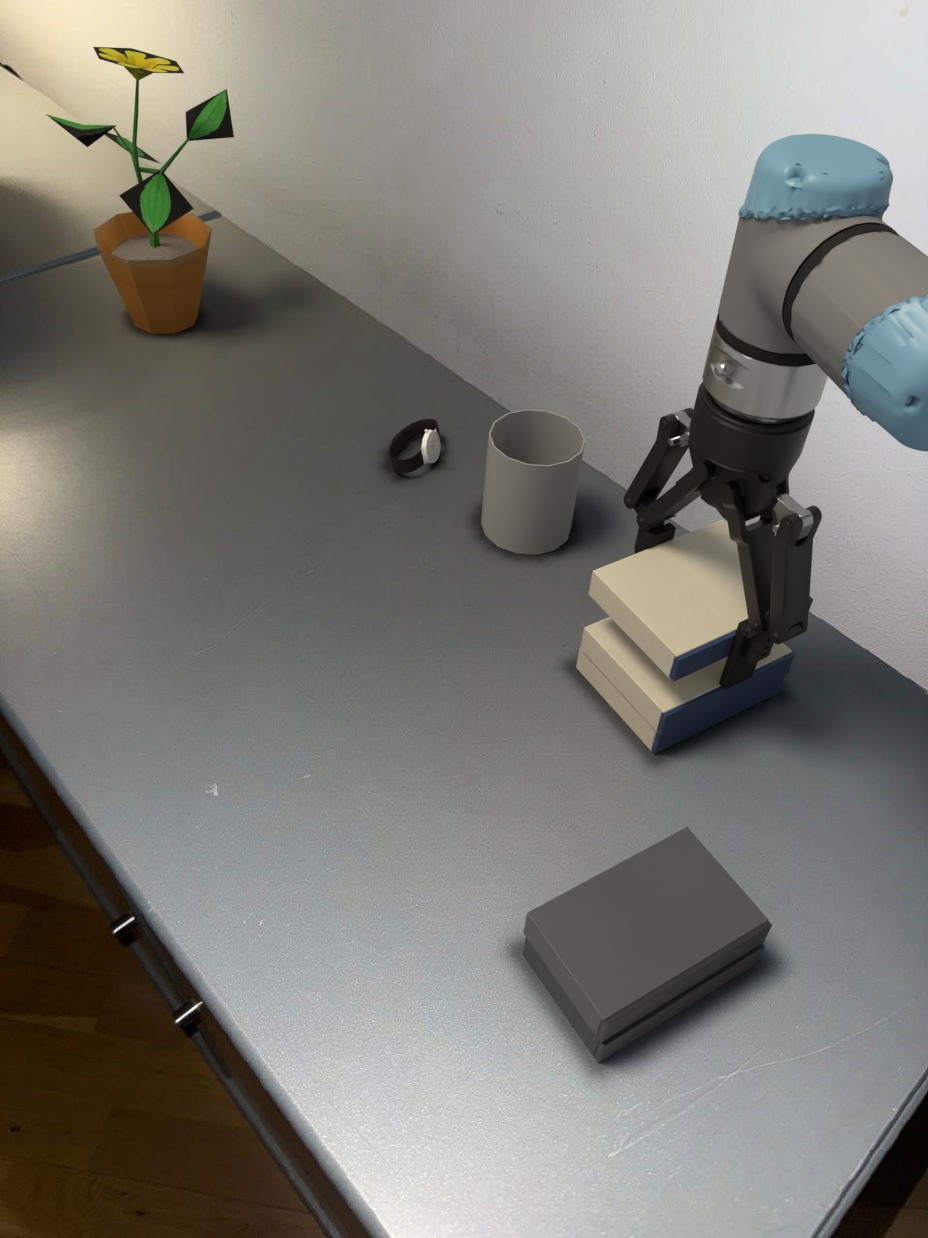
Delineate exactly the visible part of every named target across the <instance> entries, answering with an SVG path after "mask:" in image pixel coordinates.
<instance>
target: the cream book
mask: <svg viewBox="0 0 928 1238" xmlns="http://www.w3.org/2000/svg"><path fill="white" fill-rule="evenodd" d="M588 596H589V597H590V598H591V599H592V600H593V601H594V602H595V603H596V604H597V605H598V606H599V608H601V609H602V611H604V612H605V614H607V615H608V617H611V618H612V619H613V620H614V621H615V622H616V624H617V625H618V626H619V627H620V628H621V629H622V630H623V631H624V632H625V633H626V634H627V635H628V636H629V637H630V638H631V639H632V640H633V641H634V642H635V643H636V644H637V645H638V646H639V647H640V649H641V650H642V651H643V652H644V653H645V654H646V655H647V656H648V657H649V658H650V659H651V660H652V661H653V662H654V663H655V664H656V665H657V666H658V667H659V668H660V669H661V670H662V671H663V672H664V674H665V675H666V676H667V677H668V678H669V679H671V680H672V681H673V682H674V681H676V680H678V679H680V678H683V677H685V676H687V675H689V674H691V673H693V672H696V671H698V670H700V669H702V668H704V667H706V666H708V665H711V664H713V663H715V662H717V661H719V660H721V659H724V658H726V657H728V655H729V652H730V649H731V646H732V643H733V640H734V637H735V633H736V630H737V627H738V624H739V622H741V621H744V620H746V619H748V614H747V607H746V601H745V594H744V588H743V581H742V575H741V568H740V562H739V555H738V549H737V544H736V542H734V541H732V540H731V539H730V535H729V528H728V522H727V521H726V520H725V519H720V520H718V521H715V522H711V523H710V524H707V525H705V526H702V527H700V528H697V529H695V530H692V531H689V532H688V533H685V534H681V535H680V536H679V535H678V536H677V537H674V538H673V539H672V540H669V541H667V542H664V543H662V544H659V545H657V546H654V547H652V548H649V549H647V550H644V551H641V552H639V553H636V554H635V553H634V554H632V555H629V556H627V557H623V558H621V559H619V560H616V561H614V562H612V563H608V564H607V565H603V566H601V567H598V568H596V569H593V570H592V573H591V578H590V583H589V587H588ZM813 602H814V598H813V597H811V596H810V597H809V610H811V607H812V604H813Z"/></svg>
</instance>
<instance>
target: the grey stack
mask: <svg viewBox="0 0 928 1238" xmlns="http://www.w3.org/2000/svg"><path fill="white" fill-rule="evenodd" d="M772 926H773V924H772V922H770V921H769V918H768V917H767V916H766V915H765V914H764V912H763V911H762V910H761V909H760V908H759V907H758V905H756V903H755V902H754V901H753V900H752V899H751V898H750V897H749V895H748V894H747V893H746V892H745V890H743V888H742V887H741V886H740V885H739V884H738V883H737V882H736V881H735V879H733V877H732V876H731V875H730V874H729V872H728V871H727V870H726V869H725V868H724V867H723V865H721V864H720V861H718V860H717V859H716V858H715V857H714V855H713V854H712V853H711V852H710V851H709V849H708V848H706V846H705V845H704V844H703V843H702V842H701V840H699V838H698V837H697V836H696V835H695V834H694V832H692V830H691V829H690V828H689V827H688V826H686V827H684V828H682V829H680V830H678V831H677V832H675V833H673V834H671V835H668V836H667V837H665V838H664V839H662V840H659V841H658V842H655V843H654V844H652V845H650V846H649V847H647V848H645V849H643V850H642V851H639V852H637V853H636V854H634V855H632V856H630V857H628V858H626V859H625V860H622V861H621V862H618V863H617V864H615V865H613V866H611V867H610V868H608V869H606V870H604V871H602V872H600V873H598V874H596V875H595V876H592V877H591V878H589V879H587V880H585V881H583V882H582V883H579V884H578V885H576V886H574V887H572V888H571V889H569V890H567V891H565V892H563V893H561V894H559V895H557V896H555V897H553V898H552V899H549V900H548V901H546V902H544V903H543V904H541V905H539V906H536V907H535V908H532V909H531V910H529V911H528V912H526V917H525V921H524V926H523V927H524V928H523V934H524V937H525V939H524V945H523V950H522V956H523V957H524V958H525V960H526V961H527V963H528V964H529V965H530V967H531V968H532V969H533V972H534V973H535V974H536V976H537V977H538V979H539V980H540V982H541V983H542V984H543V986H544V987H545V988H546V990H547V991H548V993H549V994H550V996H551V997H552V999H553V1001H554V1002H555V1003H556V1005H557V1006H558V1008H559V1009H560V1010H561V1012H562V1013H563V1015H564V1016H565V1017H566V1019H567V1020H568V1022H569V1023H570V1024H571V1026H572V1028H573V1029H574V1031H575V1032H576V1033H577V1035H578V1036H579V1038H580V1039H581V1040H582V1042H583V1044H584V1045H585V1047H586V1048H587V1049H588V1051H589V1052H590V1054H591V1055H592V1057H593V1059H595V1060H596V1061H597V1062H598V1063H601V1062H602V1061H604V1060H605V1059H607V1058H609V1057H610V1056H612V1055H613V1054H615V1053H616V1052H618V1051H620V1050H622V1049H623V1048H625V1047H627V1046H628V1045H630V1044H631V1043H632V1042H634V1041H636V1040H638V1039H639V1038H641V1037H643V1036H644V1035H645V1034H647V1033H649V1032H651V1031H652V1030H653V1029H655V1028H656V1027H658V1026H660V1025H661V1024H663V1023H665V1022H666V1021H668V1020H669V1019H671V1018H672V1017H674V1016H676V1015H678V1014H679V1013H680V1012H682V1011H684V1010H685V1009H687V1008H689V1007H690V1006H692V1005H694V1004H695V1003H697V1002H698V1001H700V1000H702V999H703V998H704V997H706V996H708V995H709V994H711V993H712V992H714V991H716V990H717V989H720V988H721V987H722V986H724V985H725V984H727V983H729V982H730V981H731V980H733V979H735V978H736V977H739V976H740V975H741V974H743V973H744V972H746V971H748V970H749V969H751V968H752V967H754V966H756V965H757V964H758V962H759V961H760V959H761V956H762V955H763V953H764V950H765V948H766V945H765V944H764V943H765V941H766V939H767V936H768V934H769V932H770V930H771V928H772Z"/></svg>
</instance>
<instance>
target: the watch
mask: <svg viewBox="0 0 928 1238" xmlns="http://www.w3.org/2000/svg"><path fill="white" fill-rule="evenodd" d="M421 435H423V437H422V440H421V445H420V446H421V447H420V450H419V451H418V452H417V453H416V454H414V455H412V456H410V457H408V458H404V459H397V457H396V456H397V455H398V454H399V452H400V451H401V450H402V449H404V447H405V446H406V444H407V443H409V442H410V441H411V440H413V439H415V438H416V437H418V436H421ZM387 452H388V456H389V457H388V458H389V460H390V464H391V468H392V470H393V471H394V472H396V473H398V474H409V473H412V472H415V471H417V470H419V469H420V468H421V467H423V466H424V465H426V464H434V463H435V462H437V460H438V459H439V456H440V452H441V434H440V427H439V422H438V420H436V419H435V418H424V419H423V418H422V419H419V420H417V421H413V422H412V423H409V424H408V425H407V426H406V427H404V428H402V430H400V431H399V432H398V433H395V436H394V437H393V438H392V439H391V444H390V445H389V447H388V451H387Z"/></svg>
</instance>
